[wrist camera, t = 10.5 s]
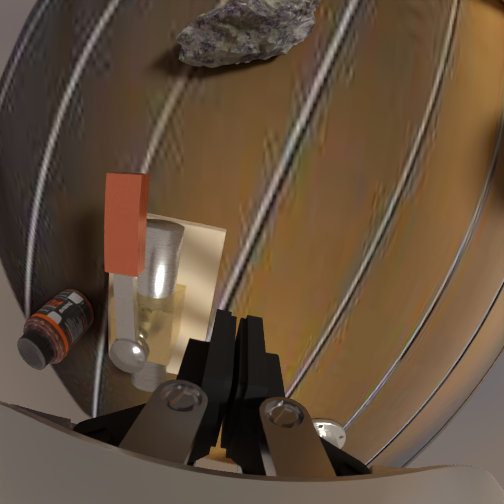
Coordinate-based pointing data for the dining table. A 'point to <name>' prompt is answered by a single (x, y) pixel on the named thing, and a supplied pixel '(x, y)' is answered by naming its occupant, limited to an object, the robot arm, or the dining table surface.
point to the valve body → (158, 301)
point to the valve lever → (126, 262)
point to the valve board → (191, 282)
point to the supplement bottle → (55, 329)
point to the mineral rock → (246, 31)
